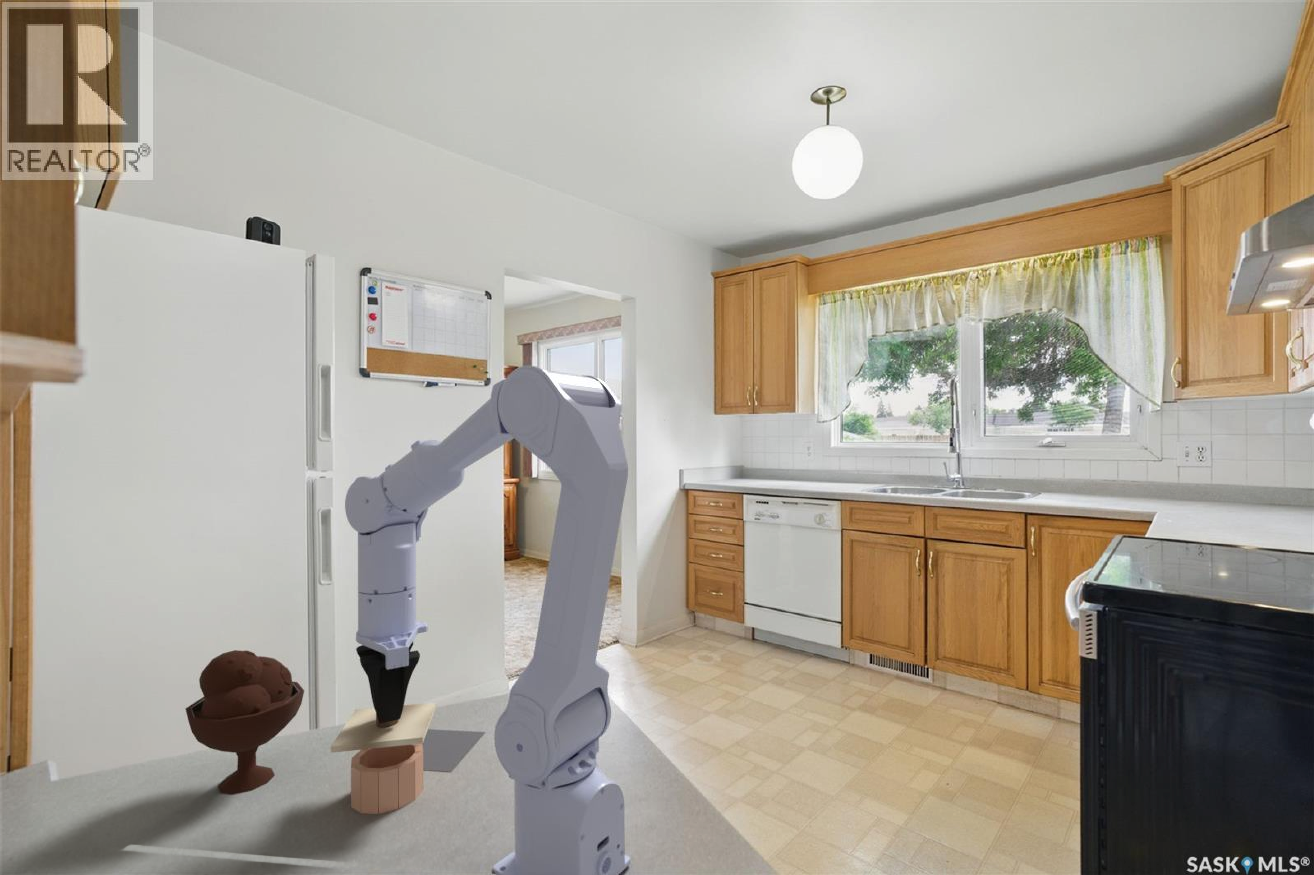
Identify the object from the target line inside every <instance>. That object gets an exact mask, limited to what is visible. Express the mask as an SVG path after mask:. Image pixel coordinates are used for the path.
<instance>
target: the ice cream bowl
mask: <svg viewBox="0 0 1314 875" xmlns="http://www.w3.org/2000/svg"><path fill="white" fill-rule="evenodd" d="M292 679H293V676H292V673H291V671H290V669H289V668H288V667H286V666H285V665H284V664H283V663H282V662H280V660H278V659H276V658H274V657H268V656H261V655H259V656H258V655H256V654H255V652H252V651H249V650H236V649H235V650H231V651H227V652H223V653H222V654H219V655H217V656H216V657H214V658H212V659H211V660H210V662H208V664H207V665H206V667H204V669H203V670H202V671H201V672H200V676H199V688H200V690H201V692H202V694H203V697H201V698H199V699H198V700H196V701H195V702H193V703H192V704H190V705H189V706H187V707H185V714H186V716H187V721H188V723H189V727H190V730H191V733H192V734H193V736H194V738H195V739H196V741H197V742H198V743H200V744H201V745H203V746H205V747H207V748H209V749H210V750H216V751H218V752H225V753H226V752H227V753H235V754H236V756H237V763H236V764H237V767H236V768H237V769H236V770H235V771H233V772H232V773H230V774H229V775H227V776H226V777H225V778H224V779H223V780H222V781H221V782H219V783H218V785H217V789H218V792H219V793H220V794H224V795H225V794H226V795H237V794H242V793H247V792H251V791H254V790H256V789H258V788H260V787H262V786H265V785H267V784H268V783H269V782H270V781H271V780H272V779H273V778H274V777H275V772H274V770H273V768H272V767H268V766H263V765H257V754H256V753H257V751H258V749H259V747H260V746H262V745H265V744H267V743H268V742H270V741H271V740H272V739H274V738H275V737H276V736H278V734H279V733H281V731H282V730H284V729H285V728H286V727H287V726H288V724H290V722H291V721H292V720H293V719H294V718H295V717H296V716H297V714H298V712H299V710H300V707H301V706H302V703H303V698H304V693H305V689H303V687H302V686H301V685H300V683H299V682H298V681H293V680H292Z"/></svg>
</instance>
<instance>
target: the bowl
mask: <svg viewBox="0 0 1314 875" xmlns="http://www.w3.org/2000/svg"><path fill="white" fill-rule="evenodd" d="M350 761H351V762H350V807H351V808H352V809H353V810H354V811H356V812H358V813H360V814H371V815H372V814H373V815H378V814H384V813H388V812H392V811H396V810H399V809H401V808H403V807H405V806H407V805H409V804H411V803H412V802H414V801H416V800H417V799H418V797H419V796H420V795H421V794H422V793H423V791H424V771H423V746H422V743H421V744H411V745H402V746H392V747H382V748H373V749H363V750H358V751H357V753H355V754H354V755H353V756H352V757H351V760H350Z"/></svg>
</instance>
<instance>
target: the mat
mask: <svg viewBox="0 0 1314 875" xmlns="http://www.w3.org/2000/svg"><path fill="white" fill-rule="evenodd" d="M485 733H486V731H473V730H471V731H468V730H454V729H453V730H451V729H450V730H448V729H430V728H428V730H427V733H426V736H425V738H424V741H423V743H422V746H423V772H424V771H426V772H427V771H428V772H439V773H440V772H442V773H443V772H444V773H452V772H453V771H454V769H456V768H457V766H458V765H459V764H460V763H461V761H463V759H464V758H465V757H466V755H468V753H469V752H471V750H472V749H473V748H474V747H475V745H476V744H477V743H478V742H479V741H480V739H481V738H482V737H483V736H484V735H485Z"/></svg>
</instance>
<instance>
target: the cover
mask: <svg viewBox="0 0 1314 875" xmlns="http://www.w3.org/2000/svg"><path fill="white" fill-rule="evenodd" d="M436 706H437V702H427V703H415V704H406V705H405V704H404V707H403V711H402V715H401V718H400V719H399V720H394V721H390V722H385V723H381V724H380V723H379V721H378V718H377V714H376V711H375V709H374V707H371V708H362V709H360V708H358V709H354V711H353V713H352V714H351V716H350V717H349V718H348V720H347V721H346V723H345V725H344V726H343V727H342V729H341V731H340V732H339V734H337V736H336V738H335V739H334V741H333V742H332V744H331V746H330V754H333V753H341V752H342V753H343V752H350V751H351V752H352V751H360V750H363V749H373V748H382V747H392V746H402V745H411V744H421V743H423V741H424V738H425V736H426V733H427V730H428V729H429V727H430V725H431V722H432V720H433V716H434V714H435V711H436V708H437V707H436Z"/></svg>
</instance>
